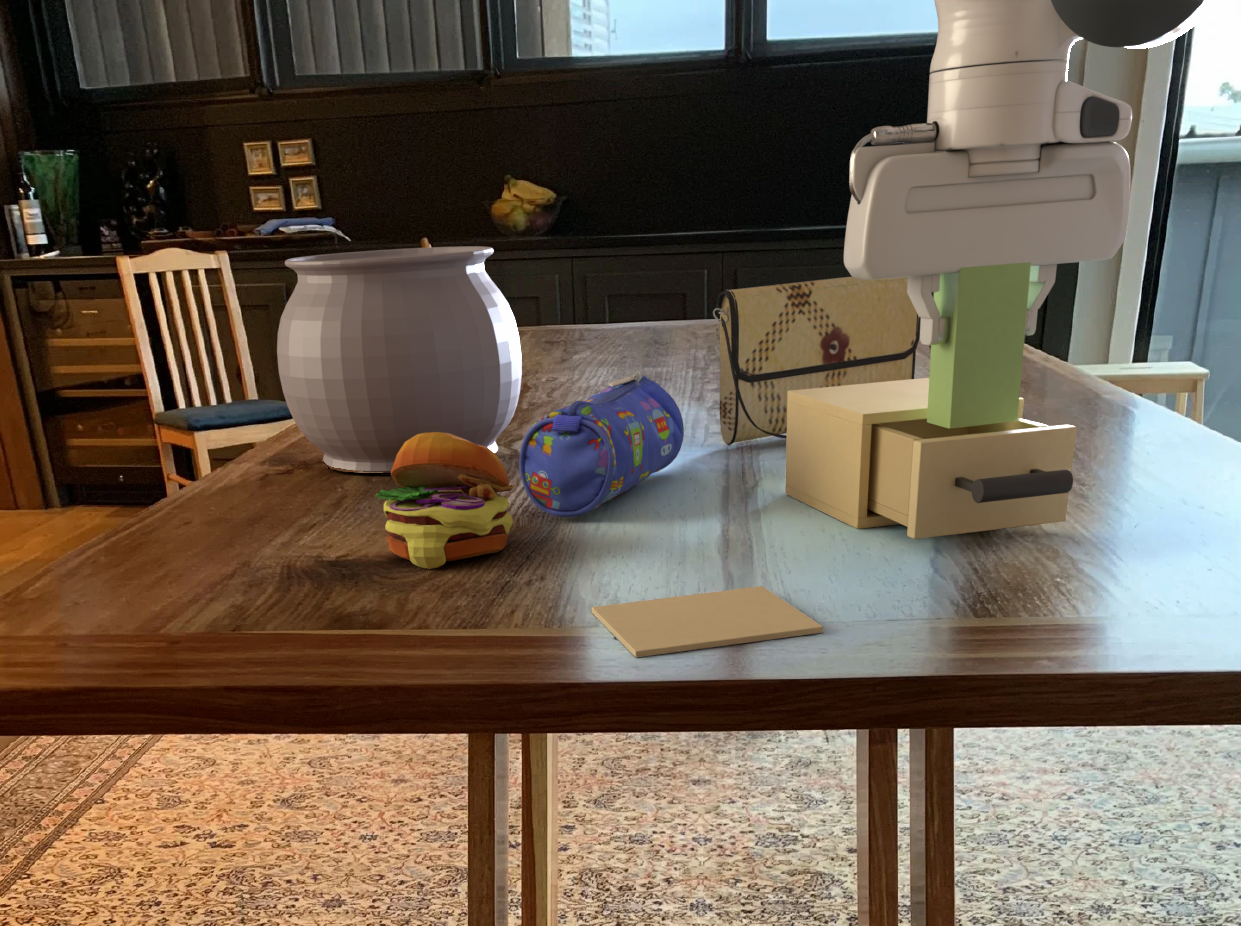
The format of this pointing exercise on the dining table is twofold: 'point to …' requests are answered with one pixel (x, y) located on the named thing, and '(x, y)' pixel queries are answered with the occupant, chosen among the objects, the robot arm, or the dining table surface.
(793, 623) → the tan flat wooden board
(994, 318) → the sage green upright pillar
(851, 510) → the cabinet
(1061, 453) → the drawer
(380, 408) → the grey round vase
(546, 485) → the pencil case
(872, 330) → the woven shoulder bag
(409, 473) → the cheeseburger
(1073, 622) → the dining table surface
